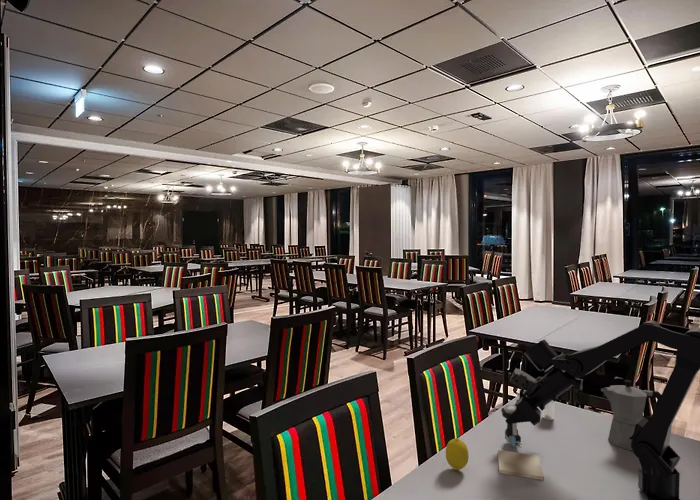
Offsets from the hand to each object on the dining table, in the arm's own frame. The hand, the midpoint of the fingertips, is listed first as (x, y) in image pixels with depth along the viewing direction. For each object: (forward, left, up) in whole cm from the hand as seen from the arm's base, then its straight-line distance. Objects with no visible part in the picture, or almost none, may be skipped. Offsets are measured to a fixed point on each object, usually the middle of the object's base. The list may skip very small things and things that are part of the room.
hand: (507, 418), depth 114 cm
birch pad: (-2, +10, -8) cm, 13 cm away
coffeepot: (-33, -12, -8) cm, 36 cm away
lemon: (+13, +17, -8) cm, 23 cm away
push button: (-1, 0, -7) cm, 7 cm away
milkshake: (-13, -23, -8) cm, 27 cm away
